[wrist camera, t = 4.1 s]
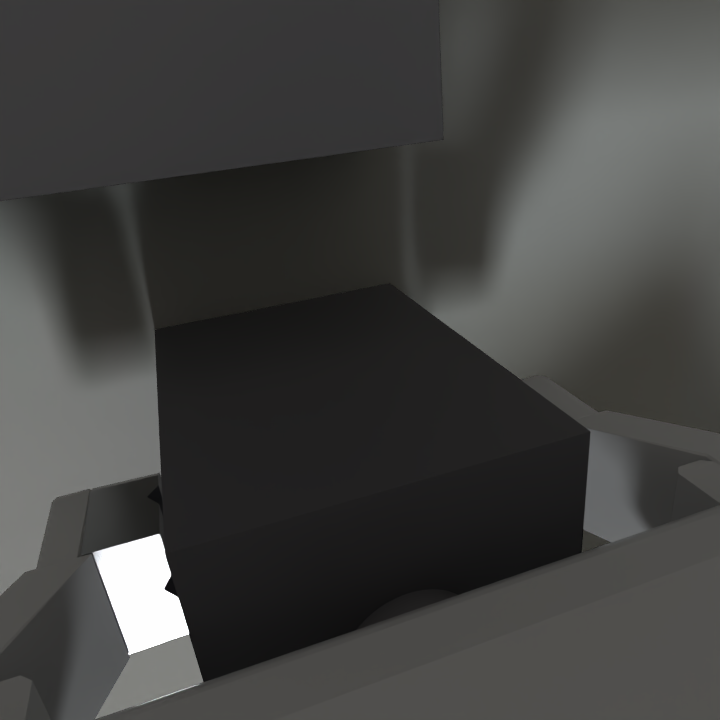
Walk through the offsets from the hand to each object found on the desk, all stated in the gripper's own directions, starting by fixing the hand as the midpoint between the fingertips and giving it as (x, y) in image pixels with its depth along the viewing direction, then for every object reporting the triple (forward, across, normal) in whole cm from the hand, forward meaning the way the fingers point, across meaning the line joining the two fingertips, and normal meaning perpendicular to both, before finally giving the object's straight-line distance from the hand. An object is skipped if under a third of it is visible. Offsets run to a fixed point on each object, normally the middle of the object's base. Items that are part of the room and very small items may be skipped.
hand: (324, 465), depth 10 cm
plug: (+2, 0, 0) cm, 2 cm away
